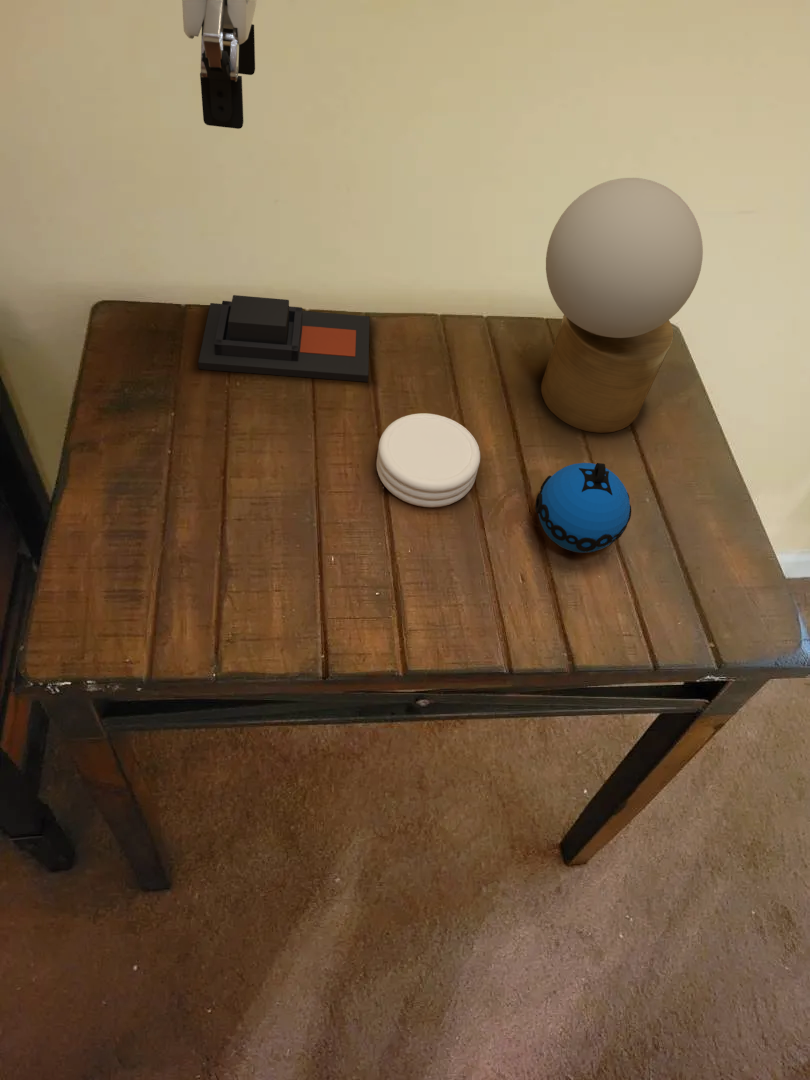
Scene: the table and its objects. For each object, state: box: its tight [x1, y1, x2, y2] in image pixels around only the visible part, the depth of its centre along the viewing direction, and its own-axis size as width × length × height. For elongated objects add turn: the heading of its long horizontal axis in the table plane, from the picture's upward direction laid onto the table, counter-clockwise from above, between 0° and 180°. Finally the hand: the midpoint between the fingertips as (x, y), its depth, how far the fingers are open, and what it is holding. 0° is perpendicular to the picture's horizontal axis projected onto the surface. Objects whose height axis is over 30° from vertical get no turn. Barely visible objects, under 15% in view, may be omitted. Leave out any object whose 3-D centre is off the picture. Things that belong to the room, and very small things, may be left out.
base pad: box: [197, 300, 370, 383], centre depth 90 cm, size 18×10×2 cm, turn 91°
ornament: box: [534, 462, 632, 554], centre depth 75 cm, size 9×9×10 cm
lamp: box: [540, 177, 704, 434], centre depth 81 cm, size 15×14×25 cm
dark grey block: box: [228, 294, 290, 345], centre depth 89 cm, size 6×4×4 cm
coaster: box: [375, 412, 481, 508], centre depth 81 cm, size 10×10×4 cm
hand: (230, 97), depth 71 cm, fingers open, 9 cm apart
